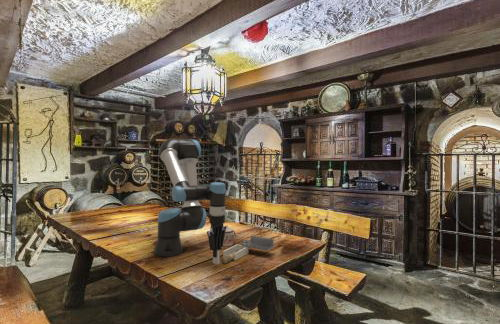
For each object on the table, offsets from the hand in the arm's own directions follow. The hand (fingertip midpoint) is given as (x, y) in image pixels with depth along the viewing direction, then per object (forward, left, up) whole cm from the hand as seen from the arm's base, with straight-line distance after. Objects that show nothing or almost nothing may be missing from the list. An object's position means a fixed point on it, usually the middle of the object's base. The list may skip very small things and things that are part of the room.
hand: (216, 263), depth 133 cm
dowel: (0, +9, -1) cm, 9 cm away
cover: (+8, +27, +3) cm, 28 cm away
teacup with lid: (-15, +32, -2) cm, 35 cm away
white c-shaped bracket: (0, +20, -1) cm, 20 cm away
